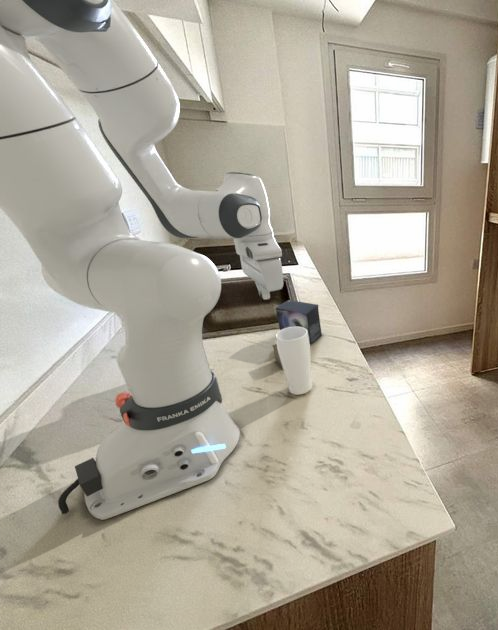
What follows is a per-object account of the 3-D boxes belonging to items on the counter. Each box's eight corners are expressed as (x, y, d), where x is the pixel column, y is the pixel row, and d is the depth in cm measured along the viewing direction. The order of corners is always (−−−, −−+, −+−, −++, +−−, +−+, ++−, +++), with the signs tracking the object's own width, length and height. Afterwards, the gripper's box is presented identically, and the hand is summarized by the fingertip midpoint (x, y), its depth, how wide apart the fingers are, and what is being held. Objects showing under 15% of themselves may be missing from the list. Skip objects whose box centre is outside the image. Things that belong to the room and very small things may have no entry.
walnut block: (283, 369, 85) (280, 352, 83) (275, 361, 88) (272, 345, 86) (301, 361, 88) (299, 345, 86) (293, 354, 92) (291, 338, 89)
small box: (279, 339, 99) (273, 307, 94) (293, 329, 104) (288, 299, 100) (310, 345, 96) (305, 312, 92) (322, 335, 102) (318, 303, 97)
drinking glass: (300, 377, 82) (291, 323, 76) (321, 384, 80) (314, 330, 73) (279, 392, 77) (267, 336, 70) (301, 401, 74) (291, 343, 68)
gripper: (229, 239, 85) (240, 289, 91) (255, 254, 72) (266, 312, 77) (254, 236, 89) (263, 284, 95) (284, 250, 76) (292, 306, 81)
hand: (265, 297), depth 86 cm, fingers closed
